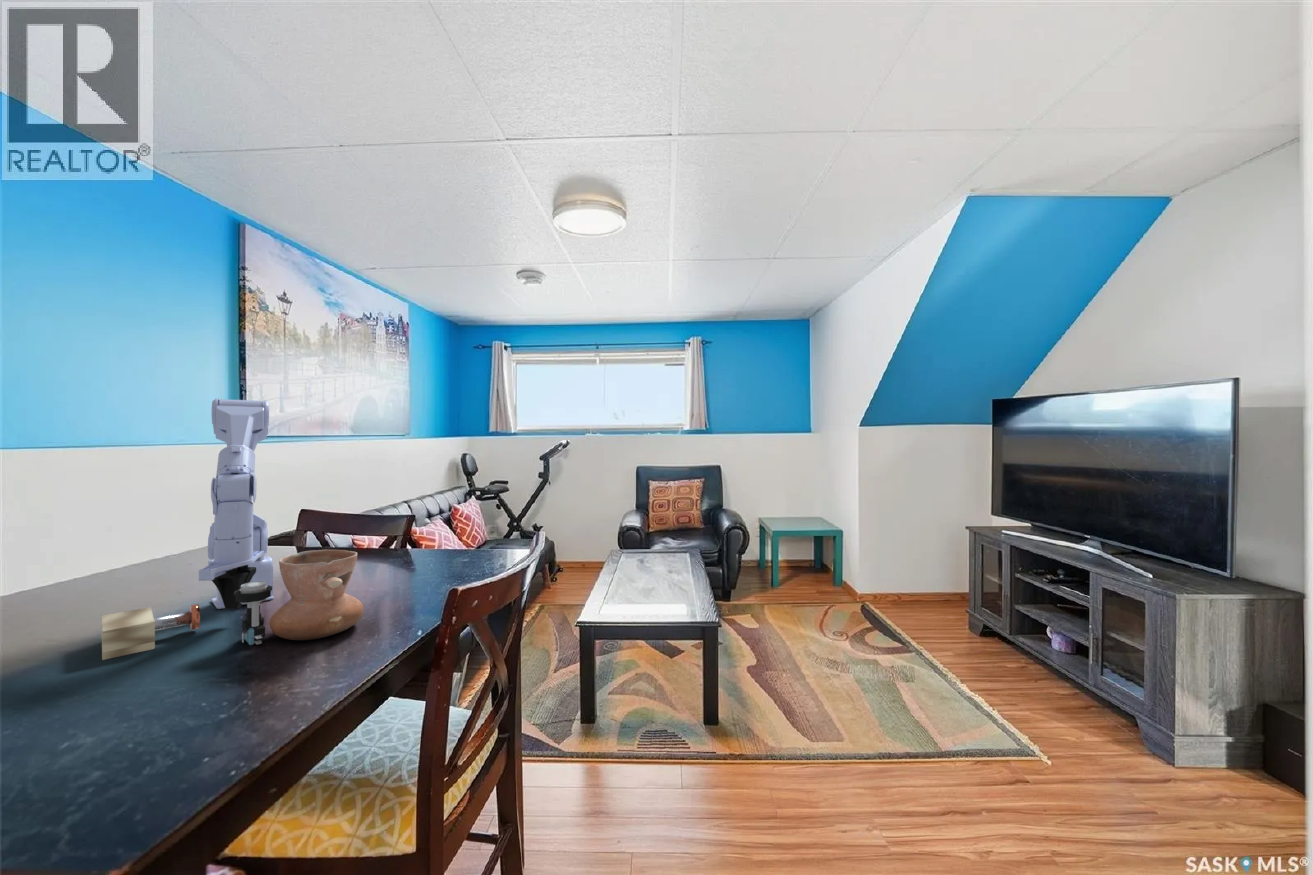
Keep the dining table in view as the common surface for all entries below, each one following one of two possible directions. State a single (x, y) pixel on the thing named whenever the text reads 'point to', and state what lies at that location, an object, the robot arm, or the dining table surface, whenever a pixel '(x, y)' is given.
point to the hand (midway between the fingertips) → (233, 607)
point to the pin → (180, 619)
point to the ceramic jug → (316, 595)
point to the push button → (253, 610)
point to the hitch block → (127, 633)
